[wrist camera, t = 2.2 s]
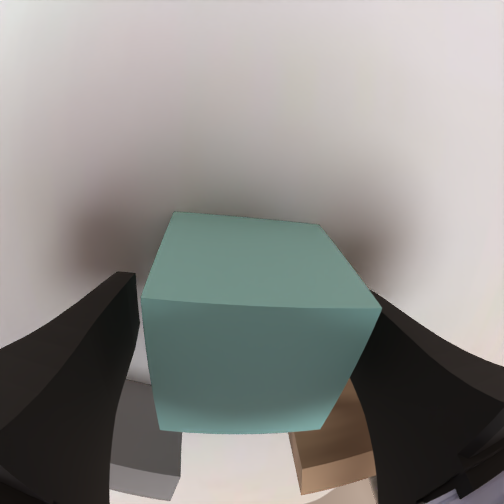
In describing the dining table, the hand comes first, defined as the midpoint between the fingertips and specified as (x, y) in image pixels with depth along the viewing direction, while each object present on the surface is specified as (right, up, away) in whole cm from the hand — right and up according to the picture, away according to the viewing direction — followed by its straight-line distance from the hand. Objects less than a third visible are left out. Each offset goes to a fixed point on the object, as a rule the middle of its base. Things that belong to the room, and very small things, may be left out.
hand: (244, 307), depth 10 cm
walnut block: (+5, -7, +6) cm, 10 cm away
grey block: (-6, -7, +5) cm, 10 cm away
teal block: (0, +1, +2) cm, 2 cm away
